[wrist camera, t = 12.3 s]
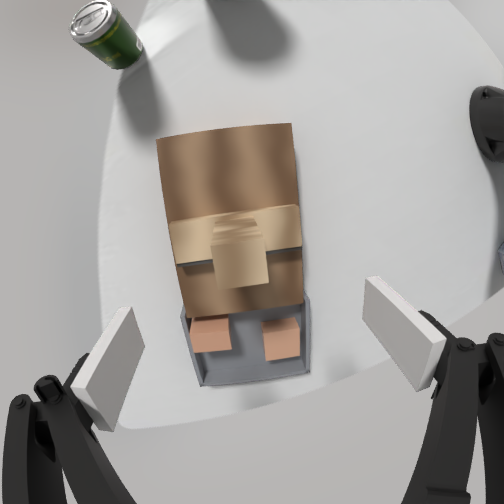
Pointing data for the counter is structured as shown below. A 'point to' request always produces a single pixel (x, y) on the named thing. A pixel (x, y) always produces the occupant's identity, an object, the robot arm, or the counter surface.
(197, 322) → the tile
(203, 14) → the counter surface
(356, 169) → the counter surface
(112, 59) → the beer can
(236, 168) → the board
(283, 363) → the bin
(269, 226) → the stepped wooden block
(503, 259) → the medicine box
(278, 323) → the tile
